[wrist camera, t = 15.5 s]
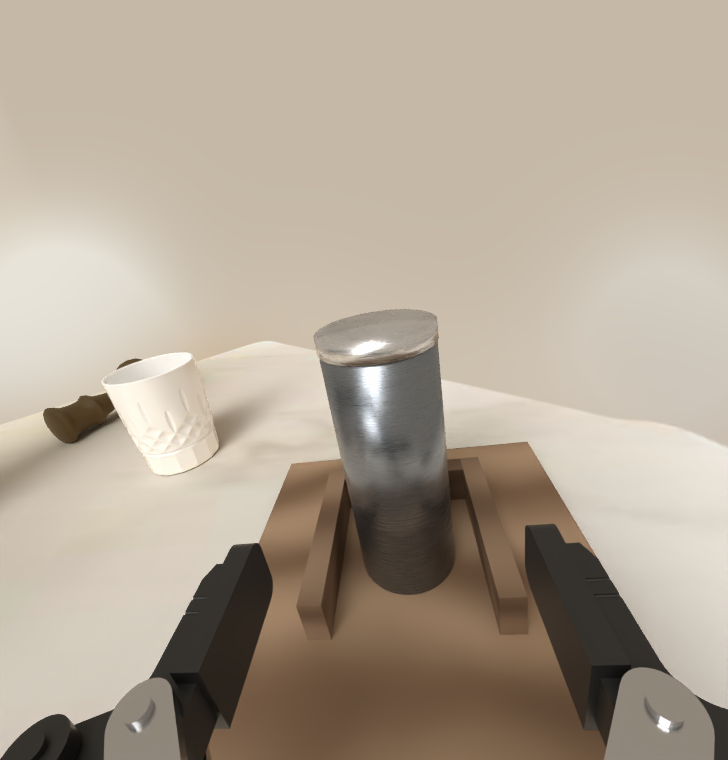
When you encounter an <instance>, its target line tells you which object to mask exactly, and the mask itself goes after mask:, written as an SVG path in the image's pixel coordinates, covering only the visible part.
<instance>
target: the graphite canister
mask: <svg viewBox="0 0 728 760" xmlns="http://www.w3.org/2000/svg"><path fill="white" fill-rule="evenodd" d="M438 338H439V337H438V326H437V317H436V316H435V315H434V314H432V313H429V312H426V311H421V310H409V309H403V310H402V309H400V310H385V311H377V312H370V313H365V314H360V315H355V316H351V317H348V318H344V319H341V320H338V321H335V322H333V323H331V324H328V325H326V326H324V327H323V328H321V329H320V330H318V331H317V332H316V333H315V335H314V341H315V346H316V351H317V355H318V358H319V359H320V364H321V368H322V373H323V377H324V382H325V387H326V391H327V396H328V400H329V405H330V409H331V414H332V419H333V423H334V428H335V432H336V437H337V441H338V446H339V451H340V455H341V460H342V464H343V469H344V474H345V478H346V483H347V487H348V492H349V496H350V501H351V506H352V510H353V515H354V519H355V524H356V528H357V533H358V538H359V542H360V547H361V551H362V556H363V560H364V565H365V568H366V571H367V573H368V575H369V576H370V578H371V579H372V580H373V581H374V582H375V583H376V584H377V585H378V586H380V587H381V588H383V589H385V590H387V591H389V592H392V593H396V594H401V595H416V594H421V593H425V592H427V591H430V590H432V589H434V588H436V587H437V586H439V585H440V584H441V583H442V582H443V581H444V580H445V579H446V578H447V577H448V576H449V574H450V572H451V570H452V568H453V565H454V561H455V550H454V537H453V525H452V513H451V500H450V488H449V476H448V463H447V451H446V438H445V426H444V414H443V401H442V389H441V377H440V364H439V352H438Z"/></svg>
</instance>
